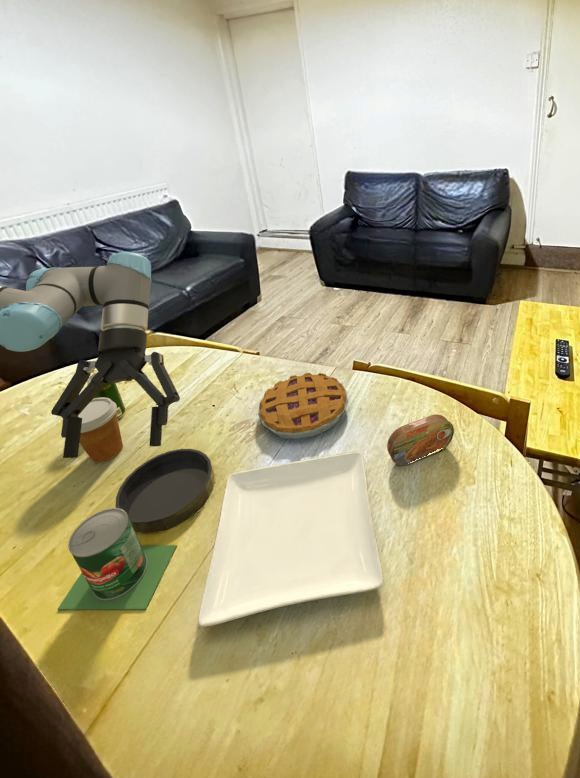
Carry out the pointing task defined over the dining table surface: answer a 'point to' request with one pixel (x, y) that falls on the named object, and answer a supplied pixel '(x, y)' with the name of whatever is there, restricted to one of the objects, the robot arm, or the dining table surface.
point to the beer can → (111, 396)
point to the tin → (419, 439)
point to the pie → (303, 406)
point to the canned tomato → (108, 553)
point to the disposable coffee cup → (100, 430)
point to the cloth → (132, 600)
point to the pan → (166, 490)
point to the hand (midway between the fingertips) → (113, 452)
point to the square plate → (291, 538)
